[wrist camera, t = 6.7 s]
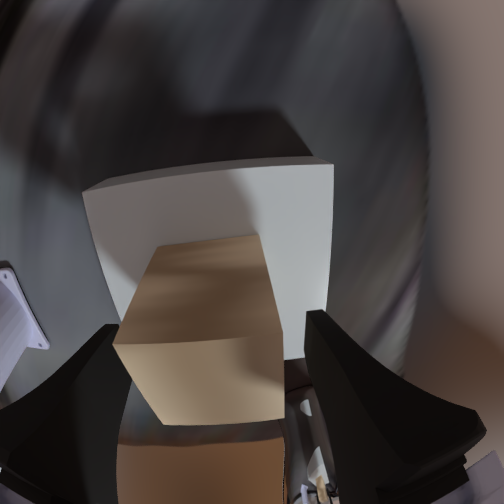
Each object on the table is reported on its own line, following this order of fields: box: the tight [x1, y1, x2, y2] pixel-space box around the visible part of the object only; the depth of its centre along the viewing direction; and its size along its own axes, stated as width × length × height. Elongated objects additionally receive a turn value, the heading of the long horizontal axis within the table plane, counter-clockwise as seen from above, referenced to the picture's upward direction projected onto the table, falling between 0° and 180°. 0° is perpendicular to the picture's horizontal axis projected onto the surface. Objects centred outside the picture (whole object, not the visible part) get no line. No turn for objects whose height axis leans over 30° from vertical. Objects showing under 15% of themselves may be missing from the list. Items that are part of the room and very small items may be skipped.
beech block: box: [112, 235, 284, 425], centre depth 10 cm, size 4×4×6 cm
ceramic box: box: [82, 156, 334, 360], centre depth 15 cm, size 11×11×4 cm
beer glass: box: [277, 385, 339, 504], centre depth 16 cm, size 7×7×15 cm
